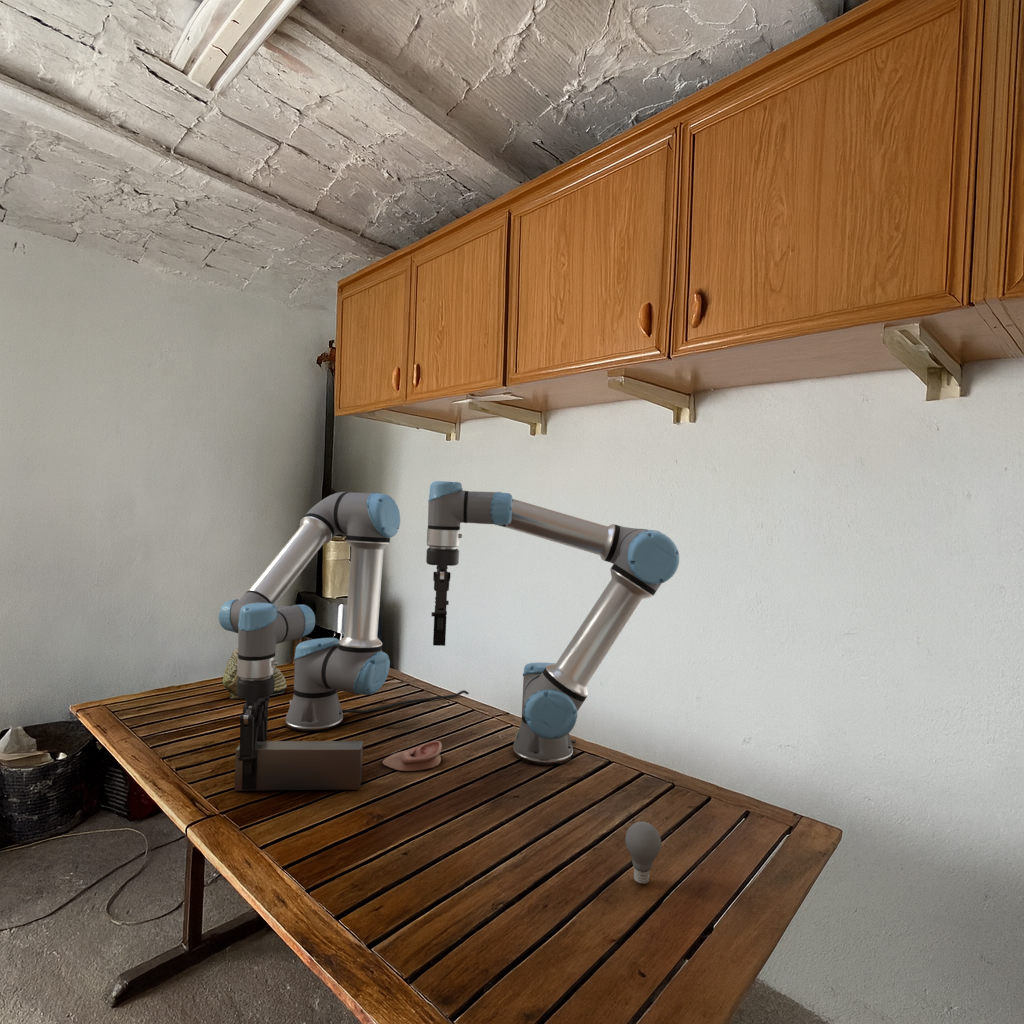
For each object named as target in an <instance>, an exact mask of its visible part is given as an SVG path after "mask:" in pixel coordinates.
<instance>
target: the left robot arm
mask: <svg viewBox="0 0 1024 1024" xmlns="http://www.w3.org/2000/svg"><path fill="white" fill-rule="evenodd" d="M400 526H401V513H400V509H399V506H398V504H397V502H396V500H395V499H394V498H393V497H392V496H390V495H388V494H386V493H377V492H352V491H351V492H350V491H339V492H335V493H333V494H330V495H328V496H326V497H324V498H323V499H322V500H320V501H319V502H317V503H316V504H315V505H313V506H312V507H311V508H310V509H309V510H308V511H307V512H306V513H305V514H304V515H303V517H301V519H300V521H299V528H298V529H297V530H296V531H295V532H294V533H293V534H292V536H291V537H290V538H289V540H288V541H287V542H286V543H285V544H284V546H283V547H282V548H281V549H280V551H279V552H278V553H276V555H275V556H274V558H273V559H272V560H271V561H270V563H269V564H268V565H267V566H266V567H265V569H264V570H263V571H262V572H261V573H260V575H259V576H258V577H257V578H256V579H255V581H254V582H253V583H252V584H251V585H250V587H249V588H248V589H247V590H246V592H245V593H244V594H243V595H242V596H241V597H240V599H237V598H236V599H229V600H228V601H226V602H224V603H223V604H222V605H221V607H220V610H219V611H218V622H219V625H220V627H221V628H222V629H224V630H225V631H229V632H232V633H235V634H237V635H238V636H237V637H238V638H237V648H238V661H237V676H238V677H239V678H238V679H237V695H238V696H239V697H241V698H240V699H244V700H245V703H244V704H243V707H242V714H240V716H239V719H238V720H239V745H240V755H239V758H238V760H240V761H243V769H242V790H255V789H256V777H257V758H256V746H257V741H268V727H269V726H268V725H269V724H268V723H269V721H268V720H269V705H270V704H269V703H270V697H271V696H270V695H272V694H273V692H274V681H275V677H274V676H273V674H274V672H275V665H276V666H277V665H278V663H279V662H278V661H277V660H275V659H276V649H277V648H276V645H278V644H281V643H286V642H289V641H293V640H296V639H302V637H305V636H307V635H309V634H311V633H312V632H313V630H314V628H315V626H316V615H315V612H314V611H313V610H312V608H311V607H310V606H308V605H307V604H292V605H289V606H287V605H281V604H279V605H278V603H279V602H280V600H281V599H282V598H283V597H284V595H285V594H286V593H287V592H288V590H289V589H290V588H291V586H292V585H293V584H294V582H295V581H296V580H297V578H298V577H299V576H300V575H301V573H302V572H303V571H304V569H305V568H306V567H307V566H308V564H309V563H310V562H311V561H312V559H313V558H314V556H315V555H316V554H317V553H318V551H319V550H320V549H321V547H322V546H323V545H324V544H328V543H330V542H331V541H332V539H333V538H334V537H335V536H338V535H346V539H345V541H346V543H347V544H348V545H349V546H350V563H349V574H348V575H349V576H348V590H347V602H346V615H345V628H344V629H345V630H344V636H343V637H342V638H341V639H340V640H339V638H337V637H321V638H313V639H307V640H304V641H302V642H299V643H298V644H297V645H296V647H295V652H294V653H295V654H294V657H293V660H294V661H293V662H294V663H293V664H294V668H293V695H292V696H293V697H292V699H289V708H288V711H287V713H286V715H285V726H286V728H287V729H289V730H291V731H294V732H295V731H296V732H301V733H316V732H325V731H329V730H332V729H335V728H337V727H339V726H340V725H342V723H343V722H344V714H343V713H347V714H349V713H351V714H353V713H354V714H365V713H372V712H377V711H381V710H384V709H389V708H392V707H397V706H402V705H406V704H407V705H408V704H413V703H420V702H427V701H435V700H441V699H442V700H443V699H451V698H455V697H458V696H460V695H463V694H465V695H470V693H469V692H468V691H467V690H460V691H459V692H457V693H455V694H454V693H453V694H448V695H440V696H439V695H438V696H431V697H423V698H416V699H408V700H404V701H399V702H394V703H390V704H385V705H382V706H377V707H373V708H369V709H342V706H341V702H340V699H339V695H338V691H340V692H346V693H351V694H354V695H357V696H359V695H363V696H364V695H365V696H371V695H374V694H376V693H377V692H379V691H380V690H381V688H382V687H383V685H384V684H385V683H386V680H387V678H388V675H389V672H390V669H391V668H390V667H391V661H390V658H389V655H388V653H386V652H385V651H383V642H382V641H381V640H380V638H379V637H378V631H379V617H380V606H381V605H380V603H381V591H382V590H381V589H382V576H383V564H384V552H385V551H384V550H385V548H386V547H388V546H389V545H390V543H391V538H393V537H395V536H396V535H397V534H398V532H399V530H400ZM272 696H273V695H272Z"/></svg>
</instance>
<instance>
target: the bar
mask: <svg viewBox="0 0 1024 1024" xmlns="http://www.w3.org/2000/svg"><path fill="white" fill-rule="evenodd" d="M239 755H240V744H238V747H236V748H235V759H234V761H235V763H234V791H235V792H240V791H242V792H243V791H244V792H247V791H248V792H249V791H253V792H254V791H339V790H341V791H344V790H345V791H346V790H350V791H351V790H354V791H355V790H360V789H361V785H362V781H363V761H364V760H363V757H364V741H363V740H266V741H257V746H256V758H257V777H256V789H255V790H242V769H243V761H240V760H238V758H239Z"/></svg>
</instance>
